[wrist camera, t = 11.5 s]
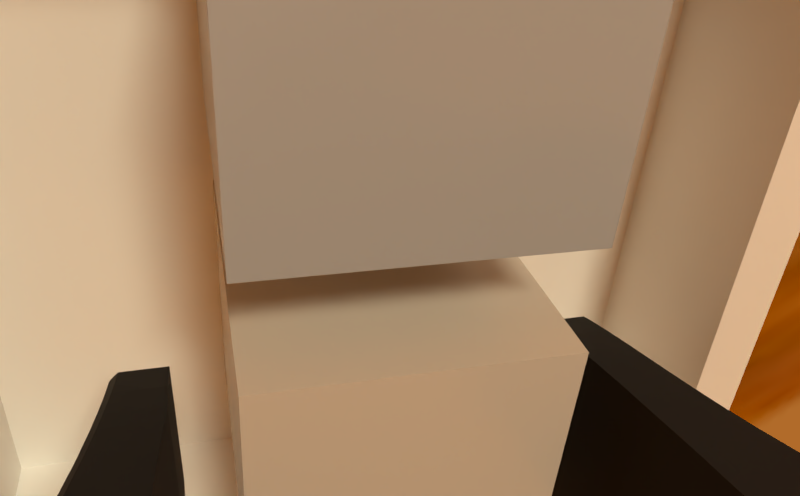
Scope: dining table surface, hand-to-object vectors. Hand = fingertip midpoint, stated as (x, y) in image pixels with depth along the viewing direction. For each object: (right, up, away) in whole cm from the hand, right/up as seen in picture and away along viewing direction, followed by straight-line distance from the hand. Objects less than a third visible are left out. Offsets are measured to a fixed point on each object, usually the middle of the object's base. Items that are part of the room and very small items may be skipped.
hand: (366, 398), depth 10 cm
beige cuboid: (-1, +2, +2) cm, 2 cm away
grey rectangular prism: (0, +6, -1) cm, 6 cm away
